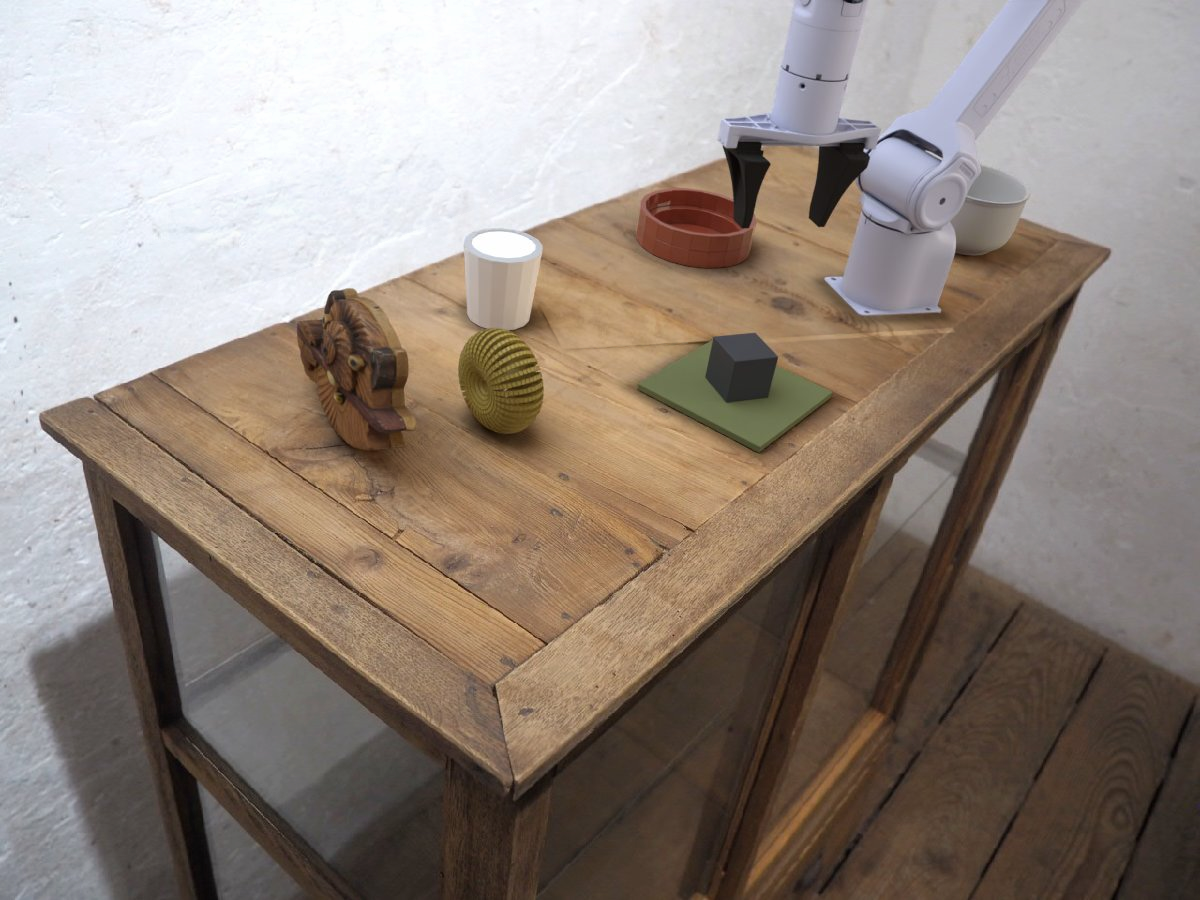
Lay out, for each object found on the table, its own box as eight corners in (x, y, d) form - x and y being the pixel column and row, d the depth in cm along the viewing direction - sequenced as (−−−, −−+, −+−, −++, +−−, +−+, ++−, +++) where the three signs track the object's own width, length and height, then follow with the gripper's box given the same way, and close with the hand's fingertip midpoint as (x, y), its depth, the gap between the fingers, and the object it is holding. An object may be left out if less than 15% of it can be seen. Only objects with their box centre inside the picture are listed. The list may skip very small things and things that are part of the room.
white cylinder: (525, 340, 91) (532, 267, 87) (450, 324, 92) (453, 251, 88) (544, 305, 97) (551, 235, 93) (473, 291, 98) (477, 221, 94)
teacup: (1017, 245, 123) (1041, 180, 118) (992, 275, 115) (1018, 206, 110) (904, 209, 128) (923, 145, 124) (873, 235, 120) (893, 167, 116)
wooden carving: (276, 381, 82) (268, 264, 76) (330, 367, 84) (326, 253, 79) (378, 496, 72) (377, 372, 66) (436, 476, 74) (440, 355, 69)
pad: (715, 342, 95) (716, 336, 95) (831, 397, 90) (833, 391, 89) (636, 389, 87) (637, 383, 87) (758, 453, 82) (760, 446, 81)
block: (745, 372, 90) (755, 332, 88) (768, 397, 87) (778, 356, 85) (704, 377, 89) (713, 336, 87) (726, 402, 86) (735, 361, 84)
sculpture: (446, 407, 82) (449, 316, 77) (488, 393, 84) (494, 304, 79) (506, 460, 77) (513, 367, 72) (549, 444, 79) (559, 352, 75)
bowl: (722, 221, 118) (728, 187, 116) (767, 270, 109) (775, 235, 107) (620, 223, 115) (624, 188, 112) (657, 274, 105) (664, 237, 103)
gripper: (867, 59, 93) (829, 204, 101) (717, 53, 88) (689, 205, 96) (908, 85, 87) (865, 236, 95) (750, 80, 83) (719, 239, 91)
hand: (779, 223), depth 95 cm, fingers open, 7 cm apart
